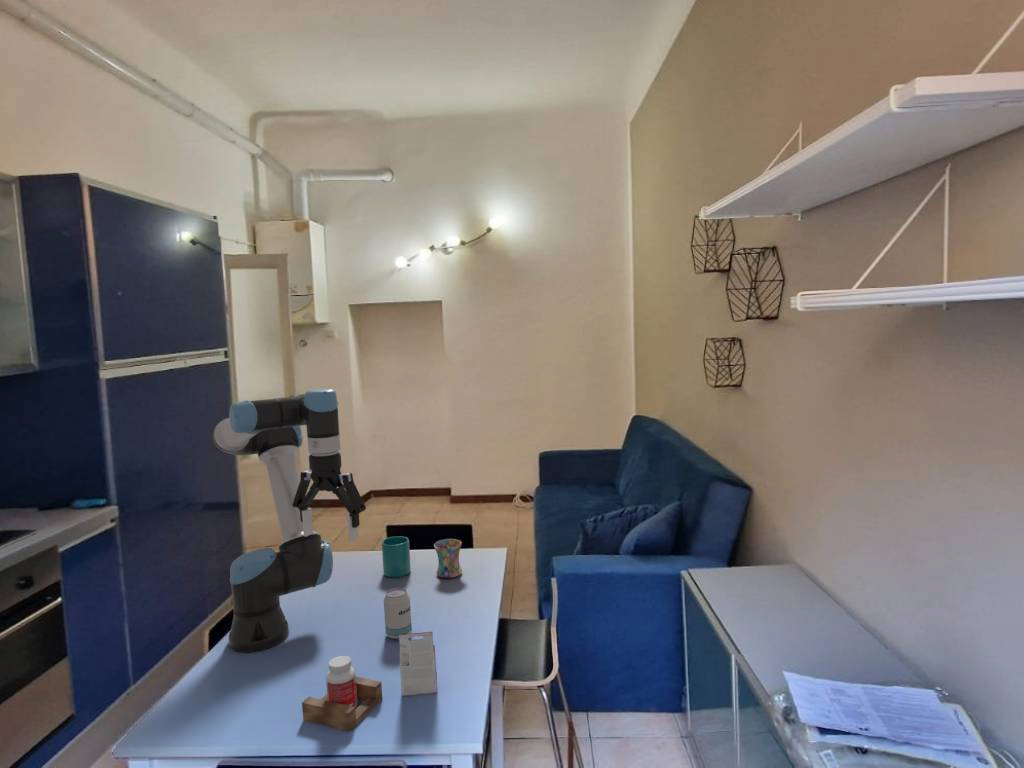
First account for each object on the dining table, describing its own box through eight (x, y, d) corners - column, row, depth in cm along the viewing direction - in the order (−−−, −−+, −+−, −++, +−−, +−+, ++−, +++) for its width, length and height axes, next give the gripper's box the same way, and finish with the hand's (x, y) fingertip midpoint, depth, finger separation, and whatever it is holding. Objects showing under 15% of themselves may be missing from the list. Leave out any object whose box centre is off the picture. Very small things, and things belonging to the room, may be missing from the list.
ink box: (402, 687, 143) (398, 627, 142) (437, 684, 144) (434, 624, 142) (401, 697, 139) (397, 635, 138) (437, 693, 140) (433, 632, 139)
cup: (415, 564, 217) (414, 533, 216) (406, 578, 205) (404, 545, 204) (390, 564, 218) (388, 533, 217) (380, 578, 206) (377, 545, 205)
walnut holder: (303, 720, 133) (301, 702, 132) (338, 688, 144) (337, 672, 143) (349, 731, 128) (348, 713, 128) (382, 698, 139) (381, 681, 139)
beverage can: (400, 643, 163) (398, 599, 162) (380, 638, 166) (377, 595, 165) (417, 631, 169) (414, 589, 168) (397, 626, 172) (394, 585, 171)
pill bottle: (361, 710, 135) (358, 662, 134) (333, 721, 132) (330, 672, 131) (352, 697, 140) (348, 650, 139) (325, 707, 137) (321, 659, 136)
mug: (435, 570, 211) (433, 540, 210) (462, 568, 212) (461, 537, 211) (435, 585, 199) (433, 552, 198) (464, 582, 200) (462, 550, 199)
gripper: (273, 453, 153) (280, 537, 155) (358, 458, 143) (363, 547, 145) (294, 447, 160) (300, 527, 162) (376, 451, 150) (382, 536, 152)
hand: (330, 537), depth 154 cm, fingers open, 13 cm apart
